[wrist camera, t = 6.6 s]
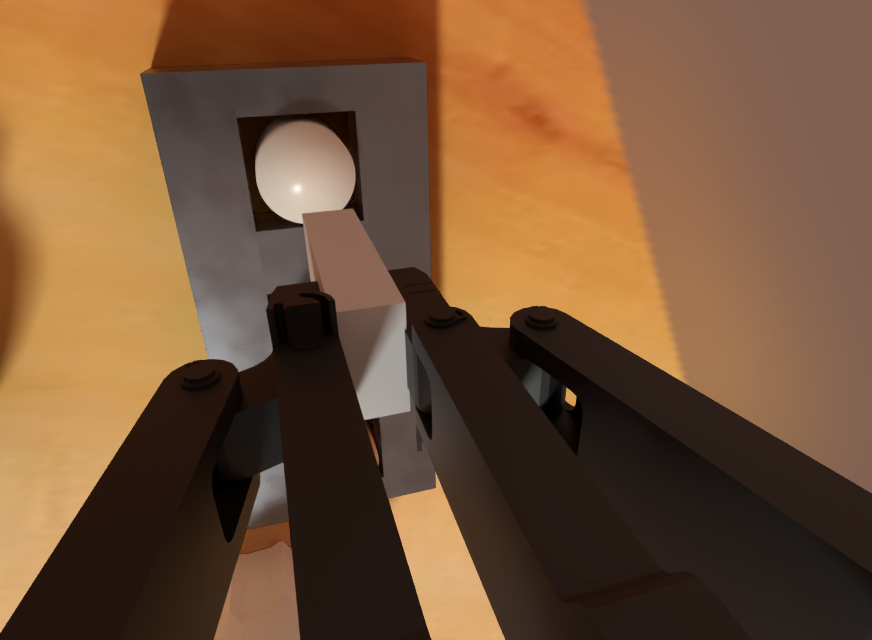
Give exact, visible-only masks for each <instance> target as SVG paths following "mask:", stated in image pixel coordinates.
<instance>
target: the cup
mask: <svg viewBox="0 0 872 640" xmlns="http://www.w3.org/2000/svg"><path fill="white" fill-rule="evenodd" d="M214 640H300V632H299V622H298V611H297V601H296V590H295V580H294V569H293V559H292V548H290V547H288V546H287V545H286V544H285V543H284V542H283V541H282V540H281V541H280V542H278V543H277V544H275V545H274V546H272V547H270V548H267V549H263V550H260V551H257V552H253V553H250V554H239V557H238V560H237V563H236V567H235V570H234V573H233V577H232V580H231V583H230V587H229V590H228V593H227V597H226V600H225V603H224V607H223V610H222V613H221V617H220V620H219V623H218V627H217V630H216V634H215V637H214Z"/></svg>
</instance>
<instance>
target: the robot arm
mask: <svg viewBox="0 0 872 640" xmlns="http://www.w3.org/2000/svg"><path fill="white" fill-rule="evenodd" d="M302 219H303V226H304V234H305V242H306V249H307V257H308V265H309V272H310V280H311V282H305V283H298V284H290V285H282V286H277V287H276V288H275V290H274V291H273V292H272V293H271V295H270V303H268V305H267V308H266V313H267V319H268V325H269V330H270V336H271V342H272V348H273V351H272V353H271V354H270V355H269V356H268V357H267V358H266V359H265V360H264V361H262V362H261V363H259V364H257V365H255V366H253V367H250V368H248V369H246V370H243V371H240V372H238V369H237V368H236V367H235V365H234V364H233V363H230V362H228V361H225V360H218V359H207V360H197V361H193V362H192V363H191V362H190V363H187V364H185V365H183V366H181V367H179V368H178V369H176V370H174V371H172V372H171V373H170V374H169V375H168V376H167V377H166V378H165V379H164V380H163V382H162V383H161V385H160V386H159V388H158V389H157V391H156V392H155V394H154V396H153V397H152V399H151V400H150V402H149V403H148V405H147V406H146V408H145V409H144V411H143V413H142V414H141V416H140V417H139V419H138V420H137V422H136V423H135V425H134V427H133V428H132V430H131V431H130V433H129V434H128V436H127V437H126V439H125V441H124V442H123V444H122V445H121V447H120V448H119V450H118V451H117V453H116V455H115V456H114V458H113V459H112V461H111V462H110V464H109V465H108V467H107V469H106V470H105V472H104V473H103V475H102V476H101V478H100V479H99V481H98V482H97V484H96V486H95V487H94V489H93V490H92V492H91V493H90V495H89V496H88V498H87V500H86V501H85V503H84V504H83V506H82V507H81V509H80V510H79V512H78V514H77V515H76V517H75V518H74V520H73V521H72V523H71V524H70V526H69V528H68V529H67V531H66V532H65V534H64V535H63V537H62V538H61V540H60V541H59V543H58V545H57V546H56V548H55V549H54V551H53V552H52V554H51V555H50V557H49V559H48V560H47V562H46V563H45V565H44V566H43V568H42V569H41V571H40V573H39V574H38V576H37V577H36V579H35V580H34V582H33V583H32V585H31V587H30V588H29V590H28V591H27V593H26V594H25V596H24V597H23V599H22V600H21V602H20V604H19V605H18V607H17V608H16V610H15V611H14V613H13V614H12V616H11V618H10V619H9V621H8V622H7V624H6V625H5V627H4V628H3V630H2V632H1V633H0V640H214V637H215V634H216V630H217V627H218V623H219V620H220V617H221V613H222V610H223V607H224V603H225V600H226V597H227V593H228V590H229V587H230V583H231V580H232V577H233V573H234V570H235V567H236V563H237V560H238V557H239V553H240V550H241V547H242V543H243V540H244V537H245V533H246V530H247V527H248V523H249V520H250V517H251V513H252V510H253V507H254V503H255V500H256V497H257V493H258V490H259V487H260V473H261V472H263V471H265V470H267V469H270V468H272V467H274V466H276V465H279V464H281V463H283V464H284V474H285V485H286V496H287V506H288V517H289V527H290V538H291V548H292V559H293V569H294V580H295V590H296V601H297V611H298V622H299V632H300V640H431V637H430V635H429V632H428V629H427V626H426V622H425V619H424V616H423V612H422V609H421V606H420V602H419V599H418V596H417V593H416V589H415V586H414V583H413V579H412V576H411V573H410V569H409V566H408V563H407V560H406V556H405V553H404V550H403V546H402V543H401V540H400V536H399V533H398V530H397V526H396V523H395V520H394V517H393V513H392V510H391V507H390V503H389V500H388V497H387V493H386V490H385V487H384V484H383V480H382V477H381V474H380V470H379V467H378V464H377V460H376V457H375V454H374V451H373V447H372V444H371V441H370V437H369V434H368V431H367V427H366V424H365V421H364V420H367V419H372V418H378V417H383V416H388V415H393V414H398V413H404V412H409V411H410V394H411V396H412V398H413V401H414V403H415V420H416V445H417V452H418V451H422V443H423V442H424V445H425V447H426V450H427V452H428V454H429V457H430V459H431V462H432V464H433V466H434V469H435V471H436V474H437V476H438V478H439V481H440V483H441V486H442V488H443V491H444V493H445V495H446V498H447V500H448V503H449V505H450V507H451V510H452V512H453V515H454V517H455V519H456V522H457V524H458V527H459V529H460V532H461V534H462V536H463V539H464V541H465V544H466V546H467V548H468V551H469V553H470V556H471V558H472V560H473V563H474V565H475V568H476V570H477V572H478V575H479V577H480V580H481V582H482V585H483V587H484V589H485V592H486V594H487V597H488V599H489V601H490V604H491V606H492V609H493V611H494V613H495V616H496V618H497V621H498V623H499V625H500V628H501V630H502V633H503V635H504V638H505V640H872V493H870V492H868V491H867V490H864V489H863V488H861V487H860V486H858V485H856V484H855V483H853V482H851V481H850V480H848V479H846V478H844V477H843V476H841V475H839V474H838V473H836V472H834V471H833V470H831V469H829V468H827V467H826V466H824V465H822V464H821V463H819V462H817V461H815V460H814V459H812V458H810V457H809V456H807V455H805V454H804V453H802V452H800V451H799V450H797V449H795V448H794V447H792V446H790V445H788V444H787V443H785V442H783V441H782V440H780V439H778V438H777V437H775V436H773V435H771V434H770V433H768V432H766V431H765V430H763V429H761V428H760V427H758V426H756V425H754V424H753V423H751V422H749V421H748V420H746V419H744V418H743V417H741V416H739V415H738V414H736V413H734V412H732V411H731V410H729V409H727V408H726V407H724V406H722V405H720V404H719V403H717V402H715V401H714V400H712V399H710V398H709V397H707V396H705V395H704V394H702V393H700V392H698V391H697V390H695V389H693V388H692V387H690V386H688V385H687V384H685V383H683V382H682V381H680V380H678V379H676V378H675V377H673V376H671V375H670V374H668V373H666V372H665V371H663V370H661V369H659V368H658V367H656V366H654V365H653V364H651V363H649V362H648V361H646V360H644V359H642V358H641V357H639V356H637V355H636V354H634V353H632V352H631V351H629V350H627V349H626V348H624V347H622V346H620V345H619V344H617V343H615V342H614V341H612V340H610V339H609V338H607V337H605V336H603V335H602V334H600V333H598V332H597V331H595V330H593V329H592V328H590V327H588V326H586V325H585V324H583V323H581V322H580V321H578V320H576V319H575V318H573V317H571V316H569V315H568V314H566V313H564V312H562V311H559V310H557V309H552V308H548V307H546V306H539V307H538V306H532V307H529V308H523V309H520V310H518V311H516V312H514V313H513V315H512V316H511V317H510V328H490V327H480V326H479V325H478V324H477V322H476V321H475V320H474V318H473V317H472V316H471V315H470V314H469V313H468V312H466V311H465V310H462V309H459V308H456V307H450V306H449V305H448V303H447V302H446V300H445V299H444V298H443V296H442V295H441V293H440V292H439V291H438V290H437V288H436V286H435V285H434V284H433V282H432V281H431V279H430V278H429V276H428V275H427V273H425V272H423V271H421V270H419V269H417V268H415V267H409V268H402V269H394V270H387V269H386V267H385V265H384V263H383V261H382V260H381V258H380V256H379V254H378V252H377V251H376V249H375V247H374V245H373V244H372V242H371V240H370V238H369V236H368V235H367V233H366V231H365V229H364V227H363V226H362V224H361V222H360V220H359V218H358V217H357V215H356V213H355V211H354V210H353V208H352V209H342V210H332V211H322V212H313V213H303V214H302ZM566 387H567V388H568V389H570V390H571V391H572V392H573V393H574V394H575V395H576V396H577V398H576V405H575V407H574V406H572V405H570V404H569V403H567V402H566V401H565V396H566Z"/></svg>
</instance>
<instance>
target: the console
mask: <svg viewBox="0 0 872 640" xmlns="http://www.w3.org/2000/svg"><path fill="white" fill-rule="evenodd" d="M140 75H141V79H142V84H143V88H144V92H145V96H146V100H147V105H148V109H149V113H150V117H151V121H152V125H153V130H154V134H155V138H156V142H157V146H158V151H159V155H160V159H161V163H162V167H163V171H164V176H165V180H166V184H167V188H168V192H169V197H170V201H171V205H172V209H173V213H174V218H175V222H176V226H177V230H178V234H179V238H180V243H181V247H182V251H183V255H184V259H185V264H186V268H187V272H188V276H189V280H190V284H191V289H192V293H193V297H194V301H195V305H196V310H197V314H198V318H199V322H200V326H201V331H202V335H203V339H204V343H205V347H206V351H207V356H208V359H218V360H225V361H228V362H230V363H233V364H234V365H235V367H236V368H237V369H238V372H240V371H243V370H246V369H248V368H250V367H253V366H255V365H257V364H259V363H261V362H262V361H264V360H265V359H266V358H267V357H268V356H269V355H270V354H271V353H272V351H273V348H272V342H271V336H270V330H269V325H268V319H267V313H266V308H267V305H268V303H270V298H269V294H271V293H272V292H273V291H274V290H275V288H276V287H277V286H282V285H290V284H298V283H305V282H311V280H310V272H309V265H308V257H307V249H306V242H305V234H304V226H303V224H301V223H296V222H292V221H289V220H287V219H285V218H283V217H281V216H279V215H278V214H276V213H275V212H265V213H255V210H254V204H253V198H252V192H251V186H250V180H249V174H248V168H247V162H246V157H245V151H244V145H243V139H242V133H241V127H240V121H239V118H240V117H257V116H274V115H290V114H307V113H324V112H341V111H347V122H348V134H349V146H350V155H351V157H352V160H353V163H354V166H355V178H356V179H355V186H354V190H353V193H354V204H346V206H345V207H344V208H343V209H352V208H353V210H354V211H355V213H356V215H357V217H358V218H359V220H360V222H361V224H362V226H363V227H364V229H365V231H366V233H367V235H368V236H369V238H370V240H371V242H372V244H373V245H374V247H375V249H376V251H377V252H378V254H379V256H380V258H381V260H382V261H383V263H384V265H385V267H386V269H387V270H394V269H402V268H409V267H415V268H417V269H419V270H421V271H423V272H425V273H427V275H428V276H429V278H430V279H431V249H430V203H429V158H428V112H427V66H426V62H424V61H420V60H417V59H413V58H393V59H367V60H341V61H315V62H289V63H263V64H236V65H210V66H184V67H158V68H149V69H148V70H146V71H144V72H142V73H141V74H140ZM373 428H374V440H375V446H376V449H377V452H378V457H379V464H378V467H379V470H380V474H381V477H382V480H383V484H384V487H385V490H386V493H387V497H388V499H389V498H393V497H398V496H402V495H407V494H411V493H415V492H420V491H424V490H429V489H433V488H436V477H435V469H434V466H433V464H432V462H431V459H430V457H429V454H428V452H427V450H426V447H425V445H424V442H423V443H422V451H418V452H417V445H416V420H415V403H414V401H413V398H412V396H411V394H410V411H409V412H404V413H398V414H393V415H388V416H383V417H378V418H373ZM286 521H289V517H288V506H287V496H286V485H285V474H284V464H283V463H281V464H279V465H276V466H274V467H272V468H270V469H267V470H265V471H263V472H261V473H260V487H259V490H258V493H257V497H256V500H255V503H254V507H253V510H252V513H251V517H250V520H249V523H248V527H249V530H250V529H254V528H259V527H263V526H268V525H272V524H277V523H281V522H286Z"/></svg>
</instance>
